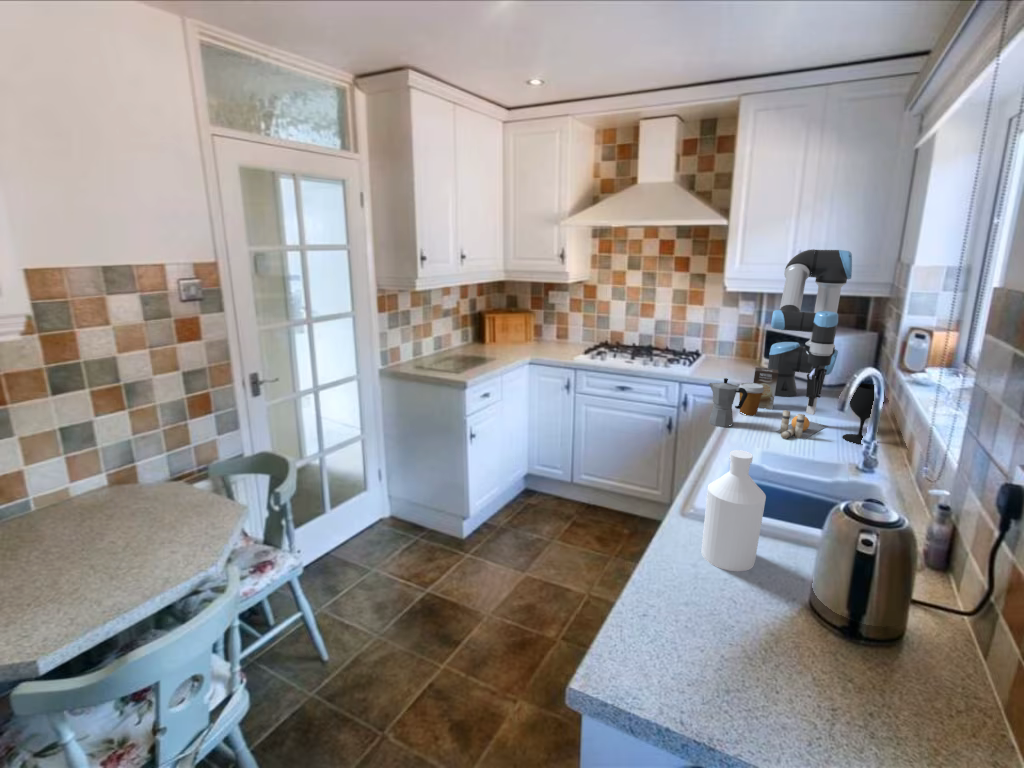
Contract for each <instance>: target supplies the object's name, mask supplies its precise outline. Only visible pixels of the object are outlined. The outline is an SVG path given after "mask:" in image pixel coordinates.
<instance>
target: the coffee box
mask: <svg viewBox="0 0 1024 768" xmlns="http://www.w3.org/2000/svg"><path fill="white" fill-rule="evenodd" d="M777 378H778V370H774V369H768V368H767V367H766V368H764V367H758V366H757V367H755V368H754V374H753V380H752V383H756V384H760V385H762V386H763V389H764V391H763V392H762V396H761V399H760V403H759V406H758V409H764V408H766V409H765V410H771V409H772V410H773V409H774V408H773V407H774V401H775V396H776V395H775V390H776V384H777Z"/></svg>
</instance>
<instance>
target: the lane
mask: <svg viewBox="0 0 1024 768" xmlns="http://www.w3.org/2000/svg"><path fill="white" fill-rule="evenodd" d="M809 422H810V425H809V427H808V429H806V430H805V431H802V437H801V438H799V439H801V440H806V439H807V438H809V437H812V436H813V435H814V434H816V433H818V432H820V431H821V430H823V429H825V428H827V427H828V425H826V424H822V423H818V422H815V421H810V420H809ZM791 428H793V427H792V424H791V423H790V424H789V425H788V430H789V429H791ZM775 433H778V434H781V433H780V429H777V430H776V431H775ZM791 437H794V435H792V436H791ZM794 438H795V437H794Z"/></svg>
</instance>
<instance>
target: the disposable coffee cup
mask: <svg viewBox="0 0 1024 768" xmlns="http://www.w3.org/2000/svg"><path fill="white" fill-rule="evenodd" d="M738 387H740V388H744V389H745V390H746V392H747V393H748V396H747V398H746V399H745V401H744V403H743V405H742V407H741V409H739V413H740V412H742V413H744V414H746V415H745V416H747V415H752V416H751V417H753V415H755V416H757V413H758V410H759V408H758V406H759V403H760V399H761V396H762V392H763V391H764V389H763V386H762V385H760V384H756V383H753V382H741V383H739V386H738ZM742 395H743V393H739V401H740V400H741V397H742Z"/></svg>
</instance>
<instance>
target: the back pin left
mask: <svg viewBox="0 0 1024 768" xmlns="http://www.w3.org/2000/svg"><path fill="white" fill-rule="evenodd" d="M796 416H797V420H796V428H795V434H794V438H796V439H800V438H801V437H802V431H803V425H804V420H805V417H806V414H804V413H798V414H797V415H796Z"/></svg>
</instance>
